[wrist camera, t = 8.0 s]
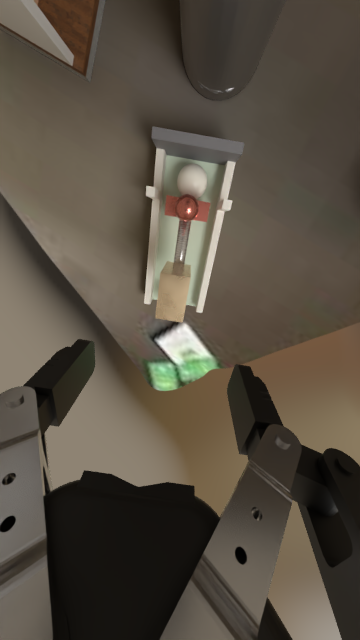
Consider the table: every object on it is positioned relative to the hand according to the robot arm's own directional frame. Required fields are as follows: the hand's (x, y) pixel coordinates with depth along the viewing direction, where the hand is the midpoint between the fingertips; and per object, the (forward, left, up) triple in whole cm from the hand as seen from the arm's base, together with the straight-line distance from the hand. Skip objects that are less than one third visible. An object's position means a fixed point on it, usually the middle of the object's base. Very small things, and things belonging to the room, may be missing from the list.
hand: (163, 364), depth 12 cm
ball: (-12, 0, -23) cm, 26 cm away
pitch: (-5, 0, -26) cm, 27 cm away
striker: (-4, 0, -24) cm, 25 cm away
